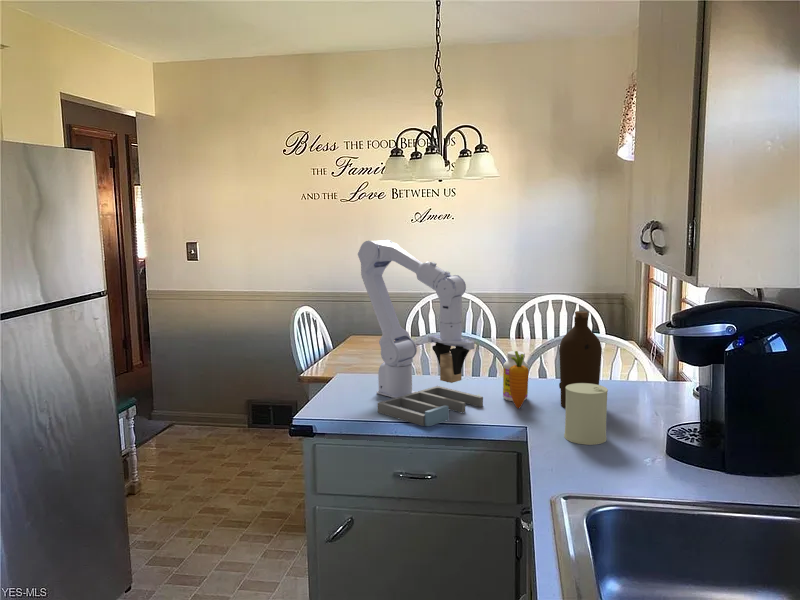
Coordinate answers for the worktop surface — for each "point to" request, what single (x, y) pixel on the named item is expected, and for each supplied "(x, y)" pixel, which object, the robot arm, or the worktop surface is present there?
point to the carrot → (518, 380)
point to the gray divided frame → (428, 405)
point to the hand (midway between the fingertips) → (450, 372)
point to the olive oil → (579, 355)
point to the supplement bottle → (506, 374)
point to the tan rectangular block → (448, 369)
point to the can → (586, 413)
